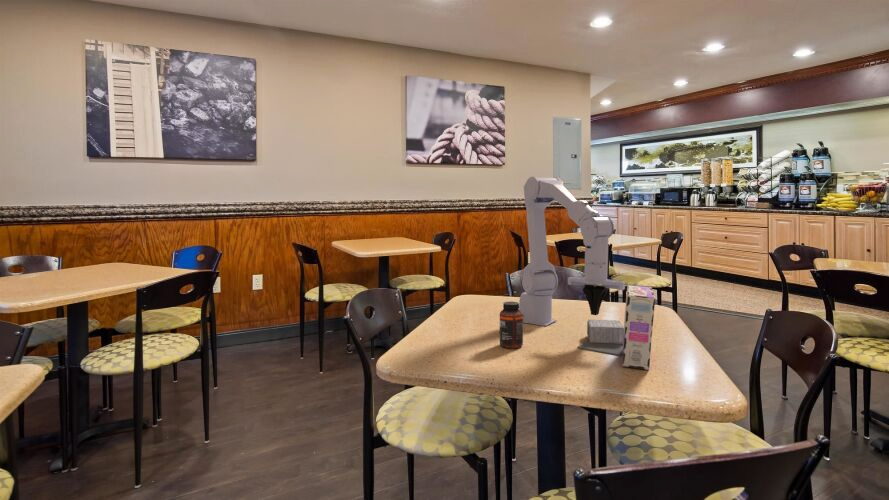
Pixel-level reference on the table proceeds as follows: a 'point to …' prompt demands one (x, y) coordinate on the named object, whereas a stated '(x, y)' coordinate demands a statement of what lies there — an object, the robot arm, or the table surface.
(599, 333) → the medicine box
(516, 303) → the supplement bottle
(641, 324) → the candy box
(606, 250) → the robot arm
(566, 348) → the table surface
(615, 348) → the mat
